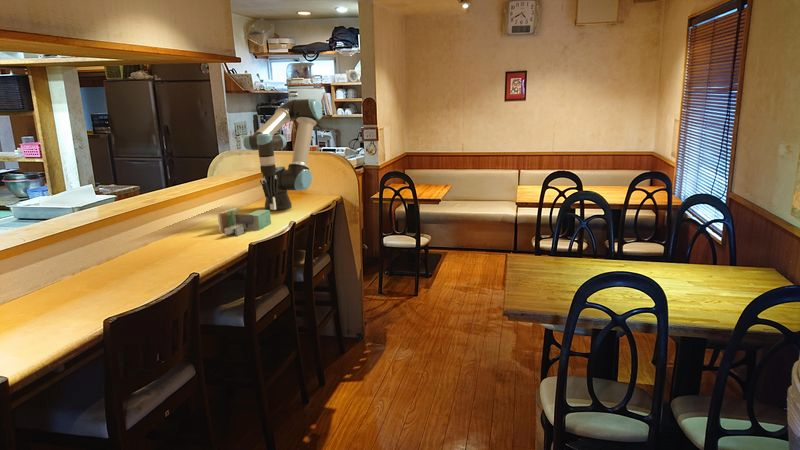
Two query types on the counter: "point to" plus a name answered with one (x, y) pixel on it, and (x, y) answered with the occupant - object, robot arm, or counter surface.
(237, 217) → the plunger
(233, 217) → the gauge housing
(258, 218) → the box
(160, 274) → the counter surface
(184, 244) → the counter surface
